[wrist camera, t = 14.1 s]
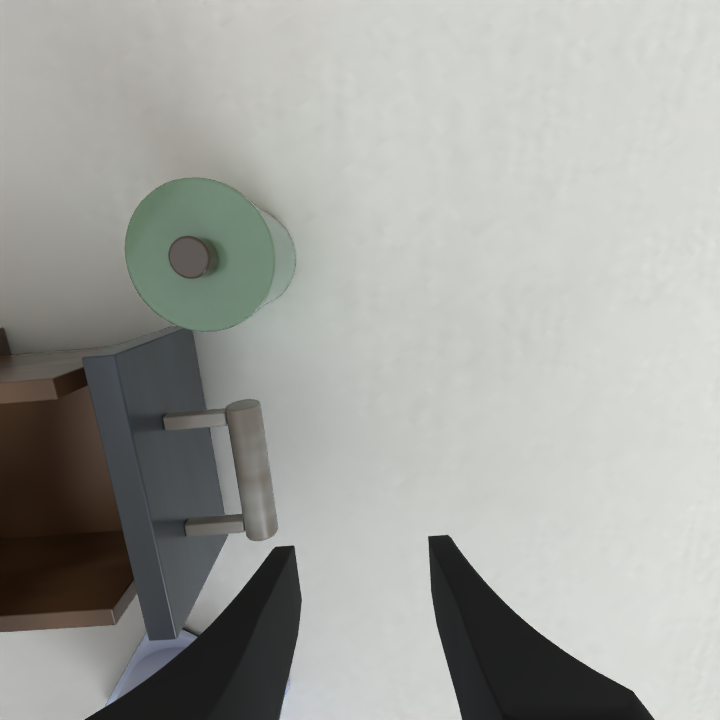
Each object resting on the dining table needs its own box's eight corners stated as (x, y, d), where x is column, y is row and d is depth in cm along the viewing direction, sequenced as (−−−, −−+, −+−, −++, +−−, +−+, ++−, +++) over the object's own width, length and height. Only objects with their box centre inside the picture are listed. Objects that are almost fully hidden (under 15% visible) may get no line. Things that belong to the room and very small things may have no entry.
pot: (320, 238, 21) (297, 227, 14) (270, 329, 22) (225, 364, 15) (223, 180, 21) (146, 137, 13) (177, 277, 22) (83, 286, 14)
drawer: (271, 318, 21) (229, 344, 15) (299, 530, 24) (275, 633, 17) (-52, 345, 22) (-236, 383, 15) (11, 550, 24) (-121, 658, 18)
